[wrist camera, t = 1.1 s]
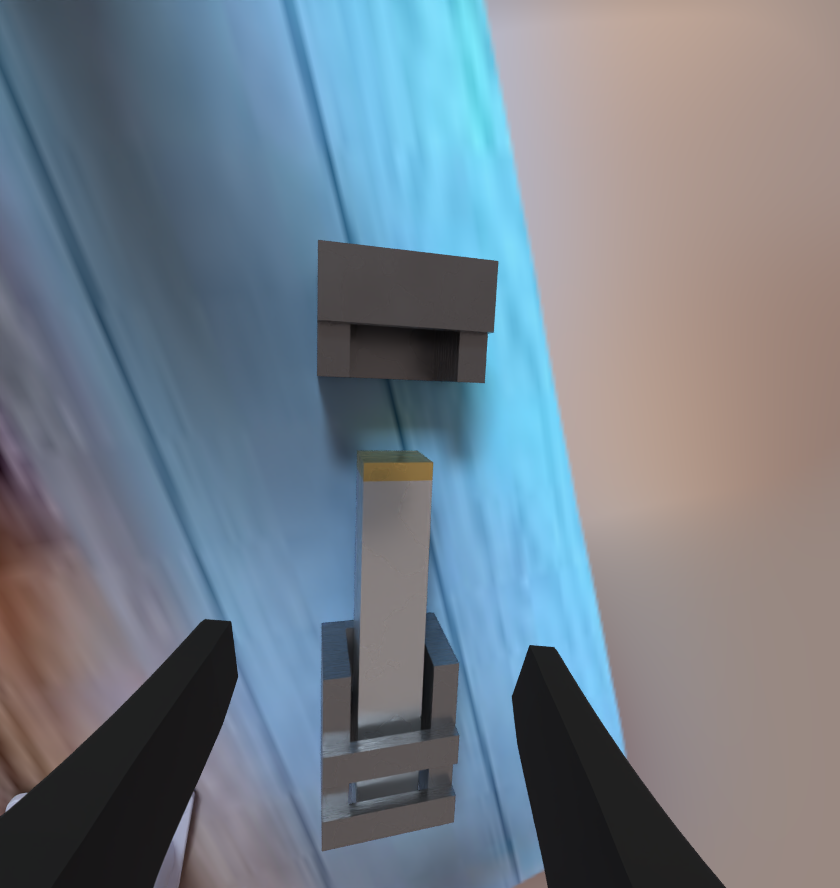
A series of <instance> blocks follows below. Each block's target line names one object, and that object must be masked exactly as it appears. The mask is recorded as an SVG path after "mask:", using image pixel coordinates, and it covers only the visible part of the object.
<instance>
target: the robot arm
mask: <svg viewBox="0 0 840 888" xmlns="http://www.w3.org/2000/svg"><path fill="white" fill-rule="evenodd" d="M237 679H238V671H237V664H236V656H235V648H234V640H233V632H232V624H231V621H221V620H209V619H205V620H203V621H202V622H200V624H199V625H198V626H197V627H196V628H195V629H194V630H193V631H192V632H191V634H190V635H189V636H188V637H187V638H186V639H185V640H184V641H183V642H182V643H181V645H180V646H179V647H178V648H177V649H176V650H175V651H174V652H173V653H172V654H171V655H170V656H169V658H168V659H167V660H166V661H165V662H164V663H163V664H162V665H161V666H160V667H159V668H158V669H157V670H156V671H155V672H154V673H153V674H152V675H151V677H150V678H149V679H148V680H147V681H146V682H145V683H144V684H143V685H142V686H141V687H140V688H139V689H138V690H137V691H136V692H135V693H134V694H133V695H132V696H131V697H130V698H129V699H128V700H127V701H126V702H125V703H124V704H123V705H122V706H121V707H120V708H119V709H118V710H117V711H116V712H115V713H114V714H113V715H112V716H111V717H110V718H109V719H108V720H107V721H106V722H105V723H104V724H103V725H102V726H100V727H99V728H98V729H97V730H96V731H95V732H94V733H93V734H92V735H91V736H90V737H89V738H88V739H87V740H86V741H85V742H84V743H83V744H81V745H80V746H79V747H78V748H77V749H76V750H75V751H74V752H73V753H72V754H71V755H70V756H69V757H68V758H67V759H66V760H64V761H63V762H62V763H61V764H60V765H59V766H58V767H57V768H56V769H54V770H53V771H52V772H51V773H50V774H49V775H48V776H47V777H46V778H44V779H43V780H42V781H41V782H40V783H39V784H38V785H36V786H35V787H34V788H33V789H32V790H31V791H30V792H28V793H22V794H18V795H16V796H15V797H14V798H13V799H12V800H11V801H10V802H9V804H8V805H7V808H6V812H5V813H4V814H3V815H2V816H0V888H179V884H180V878H181V872H182V866H183V861H184V855H185V849H186V843H187V837H188V832H189V826H190V820H191V814H192V809H193V803H194V797H195V793H194V789H195V787H196V785H197V782H198V780H199V778H200V775H201V773H202V771H203V769H204V766H205V764H206V762H207V759H208V757H209V755H210V753H211V750H212V748H213V746H214V743H215V741H216V739H217V736H218V734H219V732H220V729H221V727H222V725H223V722H224V719H225V716H226V713H227V710H228V707H229V704H230V701H231V698H232V695H233V691H234V688H235V685H236V682H237ZM512 703H513V712H514V721H515V729H516V737H517V745H518V750H519V755H520V759H521V764H522V769H523V773H524V778H525V782H526V787H527V792H528V796H529V801H530V805H531V810H532V814H533V819H534V823H535V828H536V832H537V837H538V841H539V846H540V850H541V855H542V860H543V864H544V869H545V874H546V880H547V885H548V888H726V887H725V886H724V885H723V884H722V882H721V881H720V880H719V879H718V877H717V876H716V875H715V874H714V873H713V872H712V870H711V869H710V868H709V867H708V866H707V864H706V863H705V862H704V861H703V860H702V859H701V857H700V856H699V855H698V853H697V852H696V851H695V850H694V848H693V847H692V846H691V845H690V843H689V842H688V841H687V840H686V838H685V837H684V836H683V835H682V833H681V832H680V831H679V830H678V828H677V827H676V826H675V825H674V823H673V822H672V821H671V819H670V818H669V817H668V815H667V814H666V813H665V811H664V810H663V809H662V807H661V806H660V805H659V803H658V802H657V801H656V799H655V798H654V797H653V795H652V794H651V793H650V791H649V790H648V788H647V787H646V786H645V784H644V783H643V782H642V780H641V779H640V778H639V776H638V775H637V773H636V772H635V770H634V769H633V768H632V766H631V765H630V763H629V762H628V761H627V759H626V758H625V756H624V755H623V753H622V752H621V750H620V749H619V747H618V746H617V744H616V743H615V741H614V740H613V738H612V737H611V736H610V734H609V733H608V731H607V730H606V728H605V727H604V725H603V724H602V722H601V721H600V719H599V717H598V716H597V714H596V713H595V711H594V710H593V708H592V707H591V705H590V703H589V702H588V700H587V699H586V697H585V696H584V694H583V692H582V691H581V689H580V688H579V686H578V684H577V683H576V681H575V680H574V678H573V676H572V675H571V673H570V671H569V670H568V668H567V666H566V665H565V663H564V661H563V660H562V658H561V656H560V655H559V653H558V651H557V650H556V649H555V648H554V647H546V646H534V645H530V646H529V648H528V651H527V654H526V657H525V660H524V663H523V666H522V669H521V672H520V675H519V678H518V680H517V683H516V686H515V689H514V692H513V695H512Z"/></svg>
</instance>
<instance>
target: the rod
mask: <svg viewBox="0 0 840 888" xmlns="http://www.w3.org/2000/svg"><path fill="white" fill-rule="evenodd" d="M432 476H433V462H432V461H431V460H429V459H428V458H427V457H425V456H424V455H422V454H421V453H420V452H418V451H357V481H356V532H355V583H354V634H353V685H352V736H351V742H354V741H360V740H366V739H372V738H378V737H384V736H391V735H397V734H403V733H409V732H415V731H420V730H421V709H422V688H423V667H424V645H425V624H426V603H427V582H428V561H429V540H430V519H431V497H432ZM418 772H419V771H414V772H408V773H403V774H398V775H392V776H387V777H382V778H376V779H371V780H365V781H360V782H355V783H351V792H352V803H357V802H362V801H367V800H372V799H377V798H382V797H387V796H392V795H397V794H402V793H407V792H412V791H418Z"/></svg>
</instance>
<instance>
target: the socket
mask: <svg viewBox="0 0 840 888" xmlns="http://www.w3.org/2000/svg"><path fill="white" fill-rule="evenodd" d="M497 274H498V261H494V260H485V259H477V258H468V257H459V256H451V255H442V254H434V253H425V252H417V251H408V250H400V249H391V248H383V247H374V246H365V245H357V244H348V243H340V242H331V241H323V240H318V301H317V376H330V377H356V378H380V379H404V380H427V381H450V382H473V383H485V369H486V353H487V338H488V334H490V333H494V319H495V304H496V289H497Z"/></svg>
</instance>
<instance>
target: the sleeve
mask: <svg viewBox="0 0 840 888" xmlns="http://www.w3.org/2000/svg"><path fill="white" fill-rule="evenodd" d="M353 634H354V620H350V621H340V622H329V623H322V643H321V821H322V851H326V850H330V849H335V848H340V847H344V846H349V845H353V844H358V843H362V842H367V841H371V840H376V839H380V838H385V837H389V836H394V835H398V834H403V833H407V832H412V831H416V830H421V829H426V828H430V827H435V826H439V825H444V824H448V823H453V822H454V811H455V792H454V789H453V786H452V769H453V764H457V763H458V747H459V733H458V731H457V728H456V726H455V720H456V704H457V687H458V671H459V662H458V660H457V658H456V656H455V654H454V652H453V650H452V648H451V646H450V644H449V642H448V640H447V638H446V636H445V634H444V632H443V630H442V628H441V626H440V624H439V622H438V620H437V618H436V616H435V614H434V613H426V624H425V645H424V667H423V688H422V709H421V730H420V731H415V732H409V733H403V734H397V735H391V736H384V737H378V738H372V739H366V740H360V741H354V742H351V736H352V685H353ZM414 771H419V772H418V783H419V787H420V790H418V791H412V792H407V793H402V794H397V795H392V796H387V797H382V798H377V799H372V800H367V801H362V802H357V803H352V804H349V783H355V782H360V781H365V780H371V779H376V778H382V777H387V776H392V775H398V774H403V773H408V772H414Z"/></svg>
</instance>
